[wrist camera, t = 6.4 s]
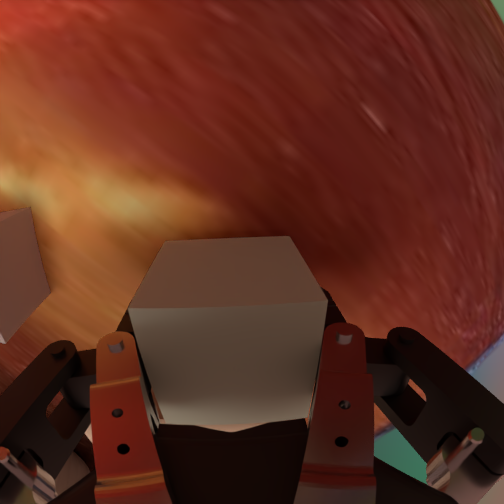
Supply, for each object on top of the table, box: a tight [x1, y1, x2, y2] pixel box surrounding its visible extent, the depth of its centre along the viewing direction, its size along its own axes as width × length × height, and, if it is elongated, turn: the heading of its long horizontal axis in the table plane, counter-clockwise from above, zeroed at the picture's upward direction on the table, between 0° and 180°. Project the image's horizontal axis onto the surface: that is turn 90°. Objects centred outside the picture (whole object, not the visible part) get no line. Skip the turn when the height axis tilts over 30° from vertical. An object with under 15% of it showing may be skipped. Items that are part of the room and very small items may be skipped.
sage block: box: [128, 236, 328, 425], centre depth 10 cm, size 5×5×5 cm
